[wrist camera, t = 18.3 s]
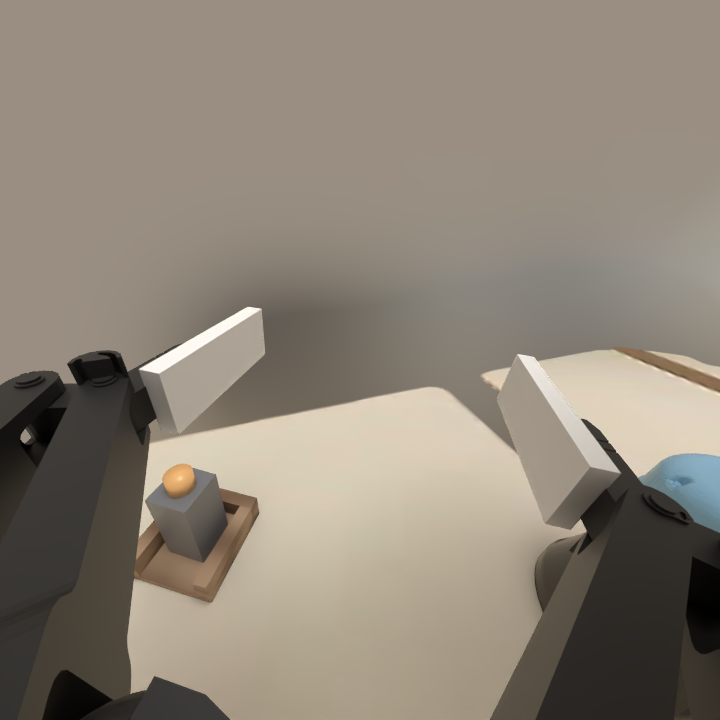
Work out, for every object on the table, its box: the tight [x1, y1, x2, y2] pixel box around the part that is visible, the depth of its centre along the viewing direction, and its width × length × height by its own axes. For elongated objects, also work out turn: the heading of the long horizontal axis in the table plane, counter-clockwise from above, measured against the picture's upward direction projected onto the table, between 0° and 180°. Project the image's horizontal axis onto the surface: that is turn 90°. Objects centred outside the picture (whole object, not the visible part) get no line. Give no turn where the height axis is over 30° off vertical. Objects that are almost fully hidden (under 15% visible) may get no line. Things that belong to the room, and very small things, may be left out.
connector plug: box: [145, 464, 228, 563], centre depth 31 cm, size 4×4×12 cm
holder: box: [134, 488, 259, 603], centre depth 33 cm, size 10×10×4 cm
